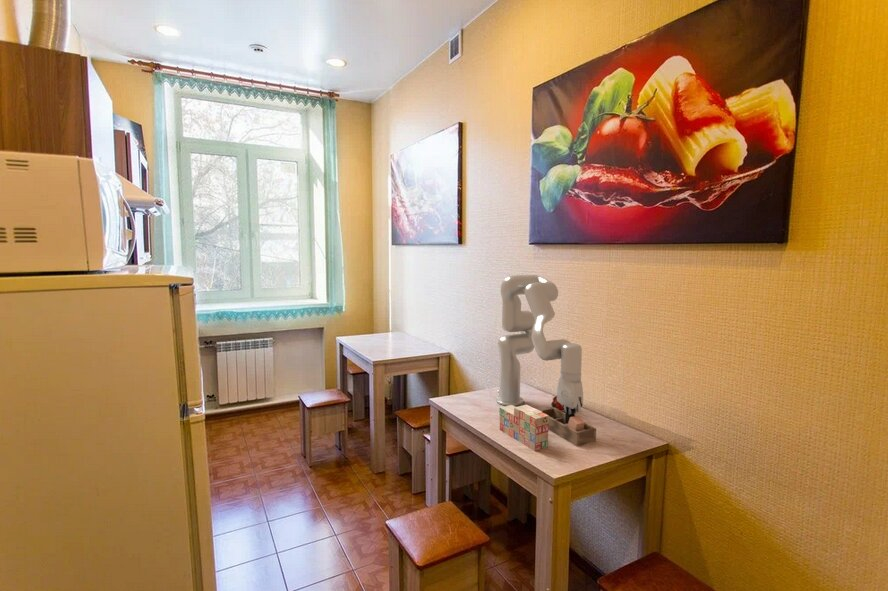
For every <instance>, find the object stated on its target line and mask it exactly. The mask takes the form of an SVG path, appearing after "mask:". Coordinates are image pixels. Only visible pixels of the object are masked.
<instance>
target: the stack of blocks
mask: <svg viewBox="0 0 888 591" xmlns="http://www.w3.org/2000/svg"><path fill="white" fill-rule="evenodd" d="M539 410H540V409H537V408H534V407H532V406H530V405H528V404H523V405H518V406H513V405H509V406H506V405H504V406H500V407H499V430H500V431H501V432H503V433H504V434H506V435H507V436H509V437H510V438H512V439H515V440H516V441H518V442H519V443H521V444H522V445H524V446H526V447H527V448H528V449H530V450H531V451H533V452H537V451H541V450H544V449H548V446H549V430H548V429H549V415H547V414H545V413H543V412H542V411H539Z"/></svg>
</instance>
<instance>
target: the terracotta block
mask: <svg viewBox="0 0 888 591" xmlns="http://www.w3.org/2000/svg"><path fill="white" fill-rule="evenodd" d="M585 423H586V421H585V420H584V419H582V417H581V416H580V415H575V416H574V417H570V419H569V422H568V427H570V428H572V429H574V430H575V431H577V432H578V431H582V430H583V428H584V425H585Z"/></svg>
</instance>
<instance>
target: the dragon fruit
mask: <svg viewBox="0 0 888 591" xmlns="http://www.w3.org/2000/svg"><path fill="white" fill-rule="evenodd" d="M551 408H556V409H558V410H560V411H562V412H564V407H563V406H562V405H561V404H560V403H559V402H558V401H557V395H555V396H554V397H553V398H552V402H551Z"/></svg>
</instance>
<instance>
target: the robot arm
mask: <svg viewBox="0 0 888 591" xmlns="http://www.w3.org/2000/svg"><path fill="white" fill-rule="evenodd" d="M500 294H501V300H502V301H501V302H502V303H501V305H502V307H501V308H502V309H501V327H502V330H503V331H504V332H506V333H511V334H505V335H503V336H501V337H500V338H499V339H498V341H497V350H498V356H499V389H497V390H496V391H497V392H496V393H498V396H496V398H495V401H496V403H498V404H499V405H501V406H509V405H513V406H515V407H518V406H522V404H523V403H524V398H523V397H521V362H520V360H519V359H518V357H517V356H519V355H525V354H530V353H532V352H533V351H534V349H535V352H536V354H537V356H538V358H540V359H541V360H542V361H555V360H560V377H559V379H558V383H557V390H556V396H557V401H558V402H559V403H560V404H561V405H562V406H563V407H564V411H563V412H564V413H565V423H567V424H568V422H569V419H570V417H574V416H576V414H577V413H581V412H582V407H583V405H584V391H583V390H584V389H583V387H584V386H583V382H582V357H583V356H582V354H583V349H582V346H581V345H580V344H578V343H574V342H573V343H572V342H570V341H569V340H568V339H564V338H563V339H554V340H552V339H551V340H546V337H545V334H544V325H545V324H547V323H548V322H550V321H552V320H553V319H554V318H555V316H556V314H555V313H556V312H555V311H554V308H553V305H552V303H551V302H554V301H556V300H557V299H558V296H559V289H558V287H557V286H556V284H555V283H554V282H553V281H552V280H549V279H546V278H545V277H543V276H540V275H537V274H536V275H535V274H534V275H533V274H528V275H527V274H526V275H525V274H524V275H523V274H522V275H520V274H519V275H509V276H506V277H505V278H504V279H503V280H502V281H501V284H500ZM519 295H521V296H522V295H525V296H524V297H525V298H526V301H527V304H528V306H529V310H522V300H521V299H520V297H519ZM518 332H520V333H518ZM512 333H514V334H512Z"/></svg>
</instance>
